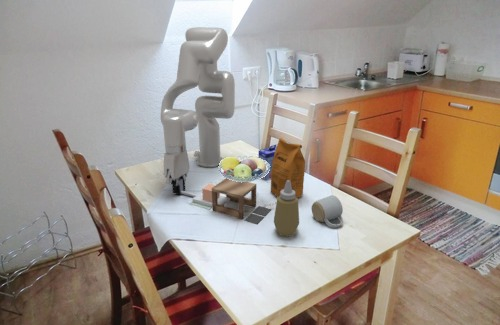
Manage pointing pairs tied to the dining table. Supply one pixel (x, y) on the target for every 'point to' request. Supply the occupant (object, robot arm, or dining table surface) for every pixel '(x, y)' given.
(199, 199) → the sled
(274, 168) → the coffee package
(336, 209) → the ceramic mug
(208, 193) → the block
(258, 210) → the pit pads
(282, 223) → the squeeze bottle
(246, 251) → the dining table surface
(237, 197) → the tunnel
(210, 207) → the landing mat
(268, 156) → the ink cartridge box
